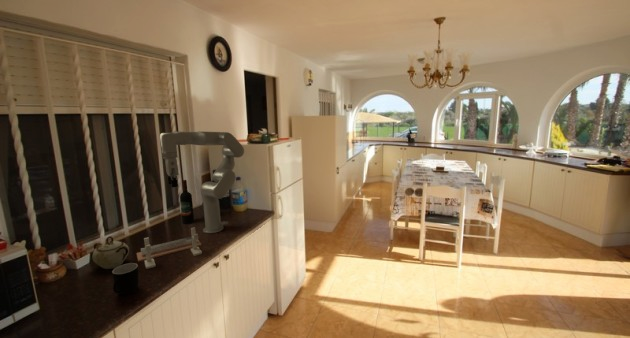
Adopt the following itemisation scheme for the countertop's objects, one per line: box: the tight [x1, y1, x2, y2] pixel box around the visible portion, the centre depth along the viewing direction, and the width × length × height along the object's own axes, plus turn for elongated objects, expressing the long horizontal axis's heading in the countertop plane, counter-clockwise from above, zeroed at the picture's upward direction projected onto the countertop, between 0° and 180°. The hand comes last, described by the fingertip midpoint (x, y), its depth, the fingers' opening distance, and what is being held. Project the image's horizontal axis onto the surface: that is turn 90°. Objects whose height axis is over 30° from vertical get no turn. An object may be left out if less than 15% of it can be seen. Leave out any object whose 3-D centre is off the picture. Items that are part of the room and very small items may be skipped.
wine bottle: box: [179, 179, 195, 225], centre depth 199 cm, size 8×8×30 cm
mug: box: [111, 262, 140, 296], centre depth 120 cm, size 12×9×10 cm
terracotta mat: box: [136, 239, 202, 263], centre depth 160 cm, size 31×10×1 cm, turn 125°
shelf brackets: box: [143, 227, 203, 270], centre depth 149 cm, size 26×8×13 cm, turn 125°
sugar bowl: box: [91, 235, 130, 270], centre depth 143 cm, size 20×15×15 cm
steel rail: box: [140, 236, 192, 256], centre depth 159 cm, size 27×3×3 cm, turn 125°
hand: (173, 185), depth 163 cm, fingers open, 9 cm apart
